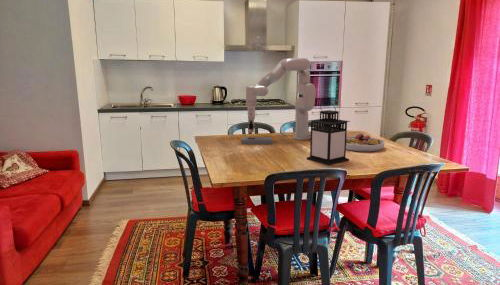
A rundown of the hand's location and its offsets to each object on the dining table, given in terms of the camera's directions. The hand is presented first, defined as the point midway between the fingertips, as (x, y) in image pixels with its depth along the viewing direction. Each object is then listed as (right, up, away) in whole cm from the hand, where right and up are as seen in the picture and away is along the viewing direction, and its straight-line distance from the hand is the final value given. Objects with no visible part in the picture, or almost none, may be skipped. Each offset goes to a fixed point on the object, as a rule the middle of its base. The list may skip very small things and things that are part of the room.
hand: (251, 128), depth 264 cm
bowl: (+74, -14, -17) cm, 77 cm away
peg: (0, -3, +1) cm, 3 cm away
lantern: (+45, -21, -49) cm, 70 cm away
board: (+4, -10, +2) cm, 11 cm away
